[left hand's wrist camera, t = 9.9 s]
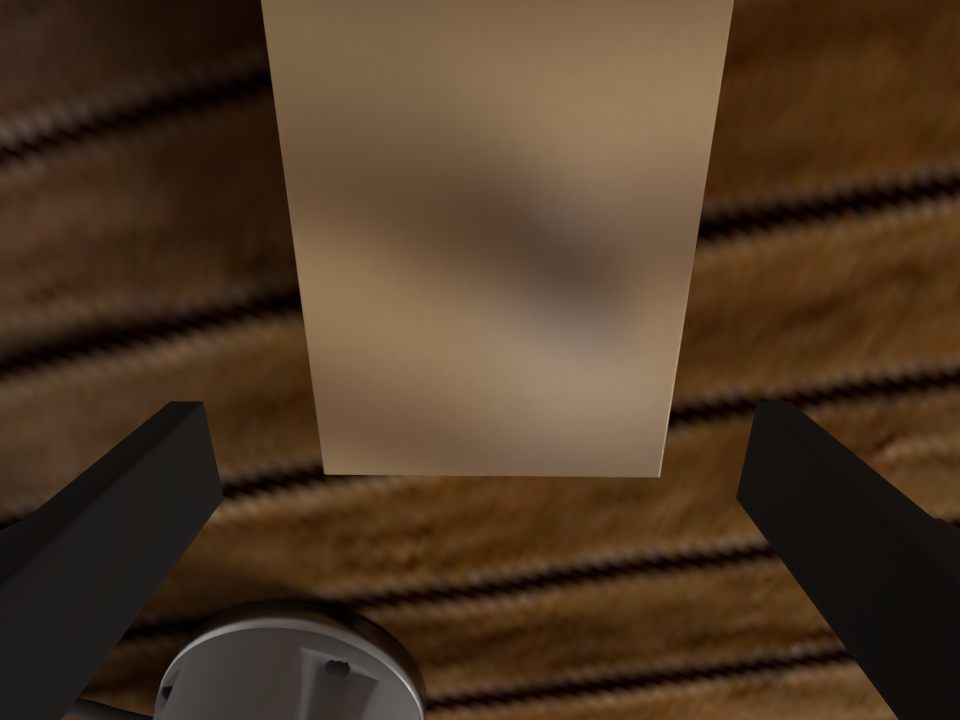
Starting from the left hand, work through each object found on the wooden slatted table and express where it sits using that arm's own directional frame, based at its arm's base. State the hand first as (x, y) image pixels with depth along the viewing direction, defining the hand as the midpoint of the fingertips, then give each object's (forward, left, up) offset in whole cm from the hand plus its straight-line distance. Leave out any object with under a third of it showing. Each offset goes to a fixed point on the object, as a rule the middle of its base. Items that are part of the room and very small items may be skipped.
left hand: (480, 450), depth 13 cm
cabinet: (+2, +5, -11) cm, 12 cm away
